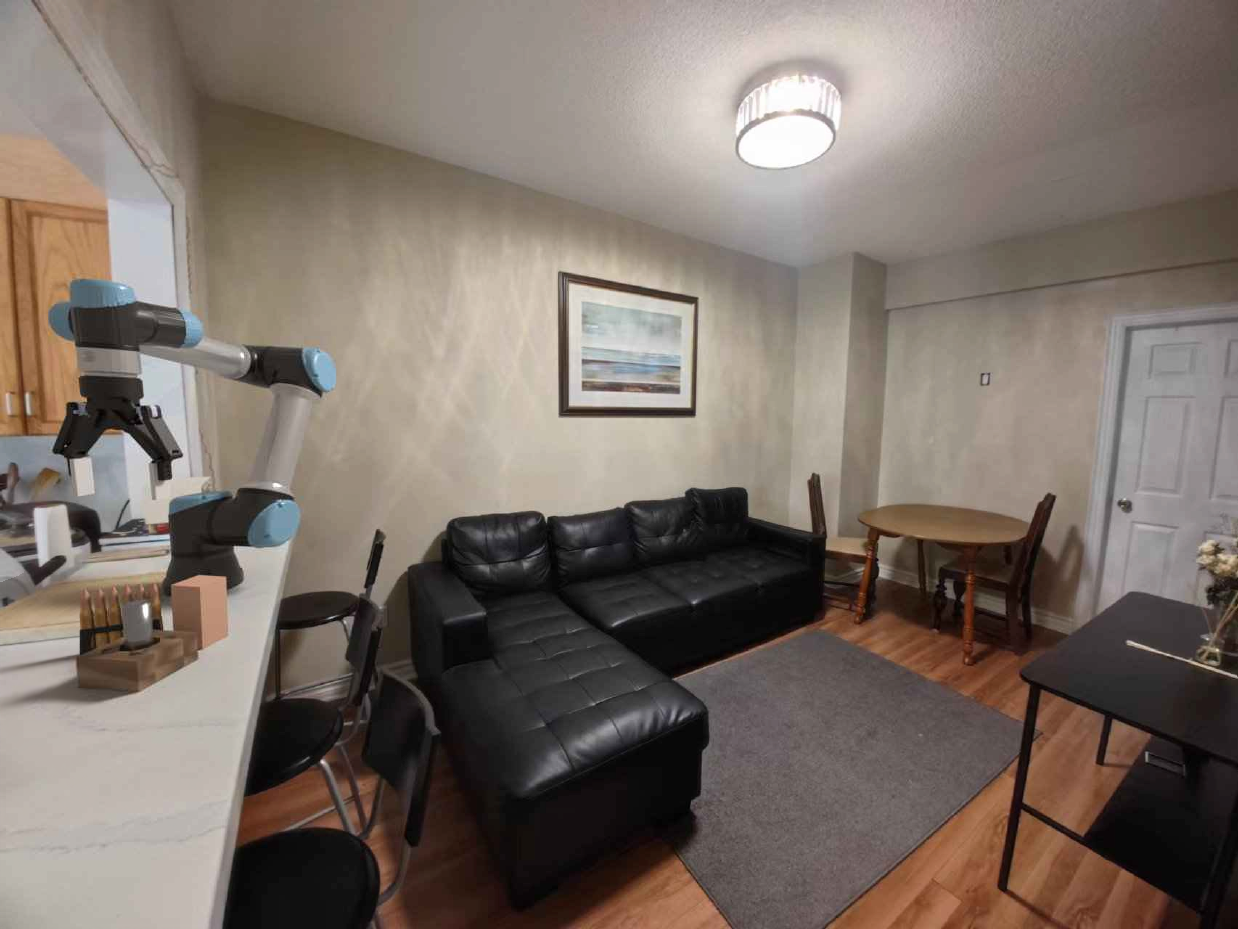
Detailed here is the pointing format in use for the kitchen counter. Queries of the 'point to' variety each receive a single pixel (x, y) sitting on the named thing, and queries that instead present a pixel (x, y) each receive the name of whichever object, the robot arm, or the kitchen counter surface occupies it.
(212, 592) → the square peg
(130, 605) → the round peg
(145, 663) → the bore block
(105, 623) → the ammunition clip
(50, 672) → the kitchen counter surface
